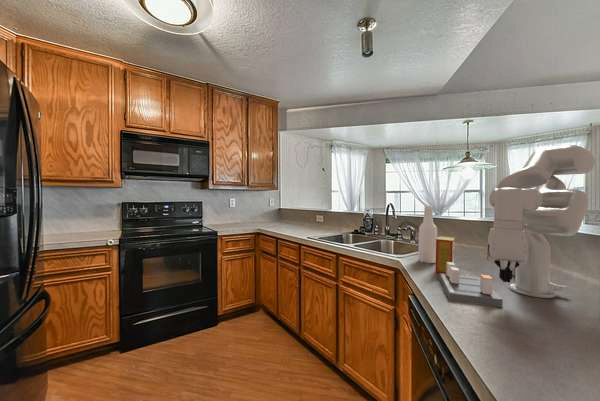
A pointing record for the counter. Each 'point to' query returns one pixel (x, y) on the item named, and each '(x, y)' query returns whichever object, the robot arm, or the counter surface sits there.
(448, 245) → the baking soda box
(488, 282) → the handle
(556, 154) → the robot arm
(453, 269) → the handle mid
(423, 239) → the alcohol
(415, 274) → the counter surface
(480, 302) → the panel
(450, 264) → the handle back
